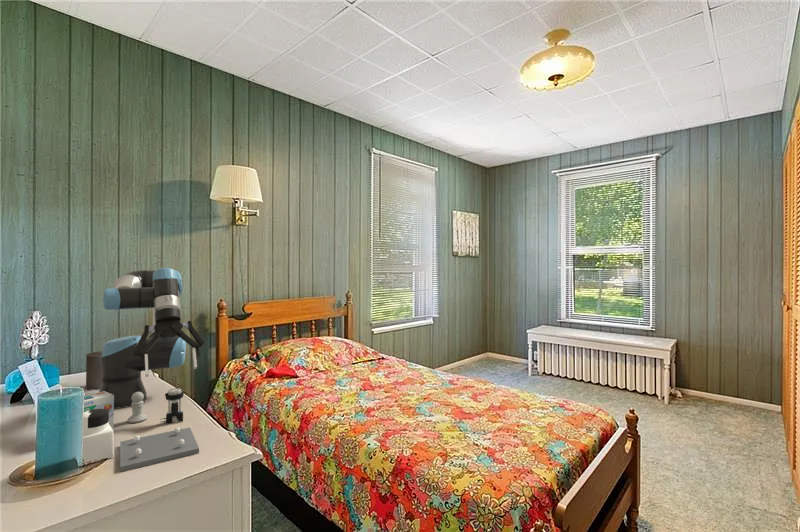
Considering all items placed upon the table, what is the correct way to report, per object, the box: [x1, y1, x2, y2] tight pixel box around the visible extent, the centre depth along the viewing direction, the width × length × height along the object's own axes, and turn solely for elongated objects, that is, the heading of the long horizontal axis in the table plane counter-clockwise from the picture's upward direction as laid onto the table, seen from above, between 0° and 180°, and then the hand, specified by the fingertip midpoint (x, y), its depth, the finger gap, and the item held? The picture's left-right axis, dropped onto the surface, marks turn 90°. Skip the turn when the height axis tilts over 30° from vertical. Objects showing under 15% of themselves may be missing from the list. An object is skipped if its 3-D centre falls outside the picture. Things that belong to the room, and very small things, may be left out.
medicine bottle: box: [83, 409, 114, 462], centre depth 102 cm, size 7×7×12 cm
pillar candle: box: [85, 349, 102, 390], centre depth 165 cm, size 10×10×15 cm
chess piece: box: [126, 392, 148, 424], centre depth 128 cm, size 5×5×9 cm
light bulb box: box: [83, 391, 115, 431], centre depth 118 cm, size 11×7×11 cm, turn 148°
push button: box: [159, 387, 185, 424], centre depth 126 cm, size 7×5×10 cm
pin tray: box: [119, 426, 200, 473], centre depth 107 cm, size 17×17×3 cm
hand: (172, 371), depth 129 cm, fingers open, 13 cm apart
